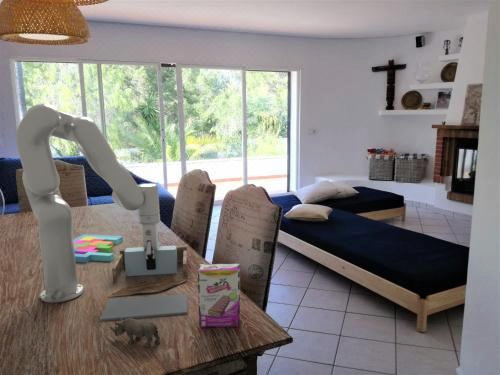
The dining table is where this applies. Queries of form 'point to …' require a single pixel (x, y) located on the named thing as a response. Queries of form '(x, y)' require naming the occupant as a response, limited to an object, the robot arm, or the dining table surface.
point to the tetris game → (95, 247)
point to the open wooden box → (121, 262)
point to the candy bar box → (219, 295)
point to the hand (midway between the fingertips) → (152, 266)
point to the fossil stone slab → (148, 286)
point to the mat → (145, 307)
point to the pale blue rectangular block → (163, 256)
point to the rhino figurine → (137, 330)
